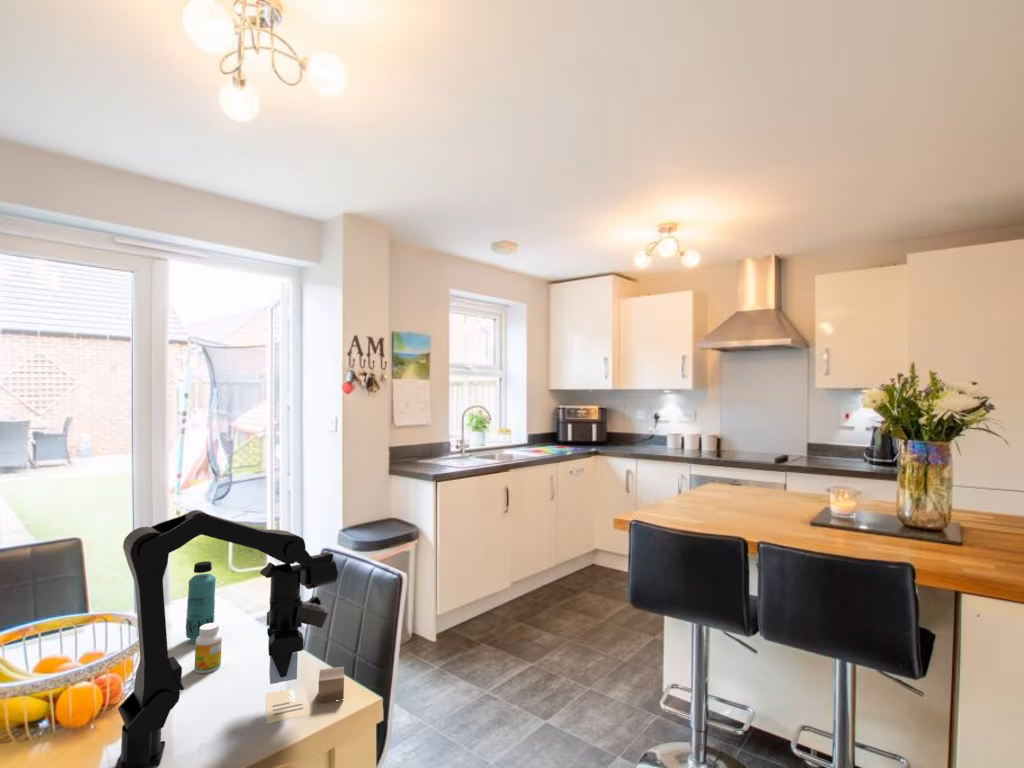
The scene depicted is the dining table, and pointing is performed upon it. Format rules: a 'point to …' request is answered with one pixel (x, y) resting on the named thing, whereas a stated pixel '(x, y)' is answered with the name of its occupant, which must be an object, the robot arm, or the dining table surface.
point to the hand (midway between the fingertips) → (282, 670)
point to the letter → (283, 707)
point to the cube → (290, 674)
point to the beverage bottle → (200, 600)
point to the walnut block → (331, 685)
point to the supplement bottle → (208, 648)
